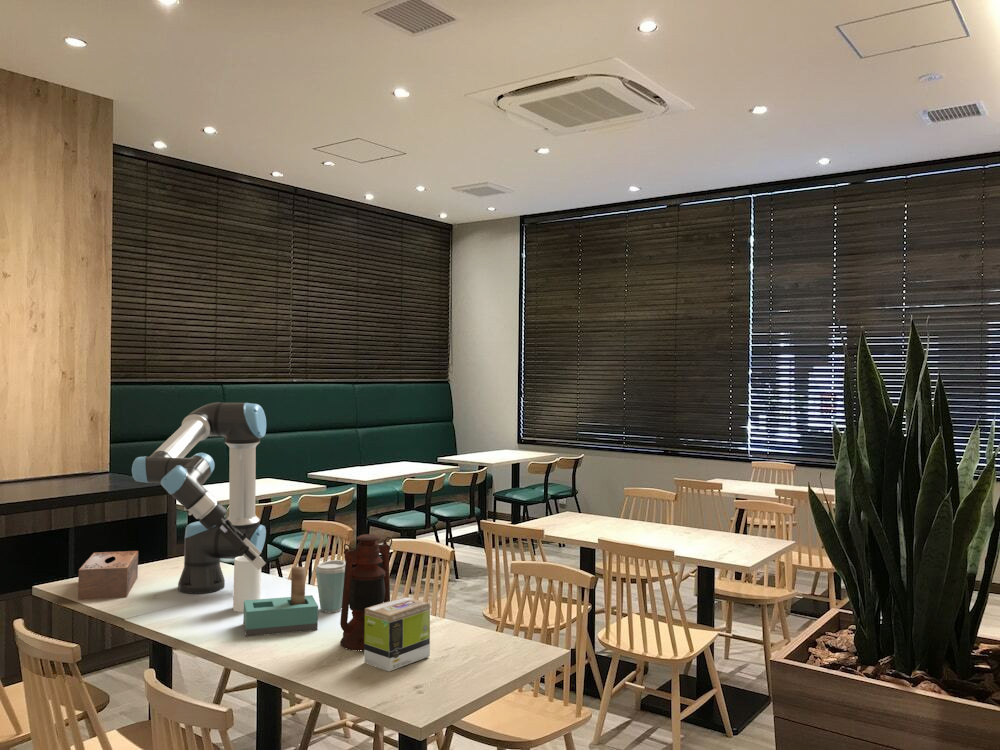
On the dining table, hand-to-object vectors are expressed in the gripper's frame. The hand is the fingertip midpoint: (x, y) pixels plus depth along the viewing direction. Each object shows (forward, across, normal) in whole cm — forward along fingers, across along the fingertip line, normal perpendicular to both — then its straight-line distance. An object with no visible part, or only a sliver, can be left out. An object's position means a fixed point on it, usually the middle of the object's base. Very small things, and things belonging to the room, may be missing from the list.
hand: (260, 561), depth 230 cm
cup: (+13, -22, -15) cm, 29 cm away
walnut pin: (+20, 0, -4) cm, 21 cm away
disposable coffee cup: (+30, -12, +3) cm, 33 cm away
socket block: (+18, +1, -9) cm, 21 cm away
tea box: (+36, +38, +9) cm, 53 cm away
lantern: (+33, +22, +6) cm, 40 cm away
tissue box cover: (-16, -59, -46) cm, 76 cm away
